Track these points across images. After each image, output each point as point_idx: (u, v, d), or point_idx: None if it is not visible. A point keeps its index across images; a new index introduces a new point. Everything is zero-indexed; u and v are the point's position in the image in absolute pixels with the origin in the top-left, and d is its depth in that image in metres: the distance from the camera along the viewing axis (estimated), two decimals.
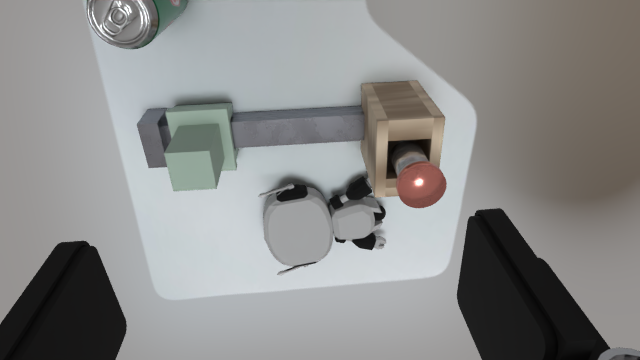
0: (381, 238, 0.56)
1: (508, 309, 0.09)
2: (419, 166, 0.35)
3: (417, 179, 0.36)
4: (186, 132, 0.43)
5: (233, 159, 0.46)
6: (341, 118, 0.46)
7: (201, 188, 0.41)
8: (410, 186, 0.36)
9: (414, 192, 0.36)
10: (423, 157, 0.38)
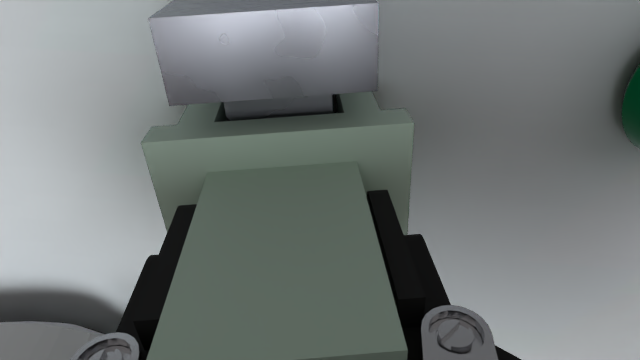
0: None
1: None
2: None
3: None
4: None
5: None
6: None
7: None
8: None
9: None
10: None
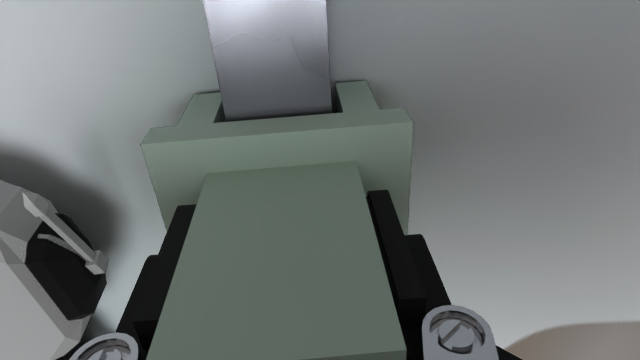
0: None
1: None
2: None
3: None
4: None
5: None
6: None
7: None
8: None
9: None
10: None
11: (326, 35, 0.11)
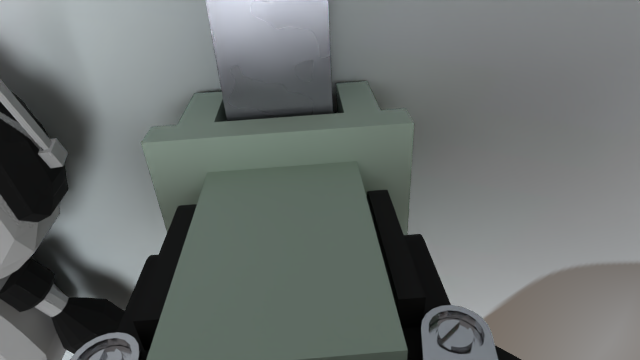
0: None
1: None
2: None
3: None
4: None
5: None
6: None
7: None
8: None
9: None
10: None
11: None
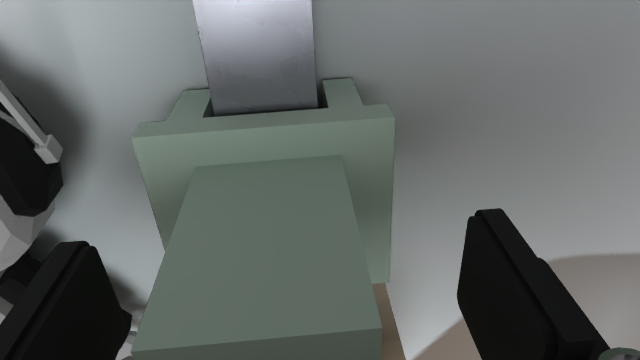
0: None
1: (508, 309, 0.09)
2: None
3: None
4: None
5: None
6: None
7: None
8: None
9: None
10: None
11: None
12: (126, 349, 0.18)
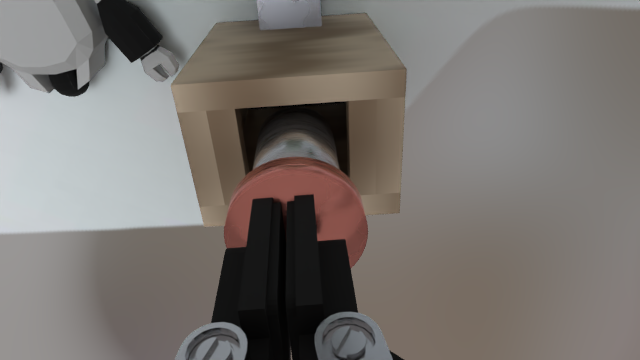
0: None
1: None
2: None
3: (326, 220, 0.12)
4: None
5: None
6: None
7: None
8: None
9: None
10: None
11: None
12: (157, 57, 0.22)
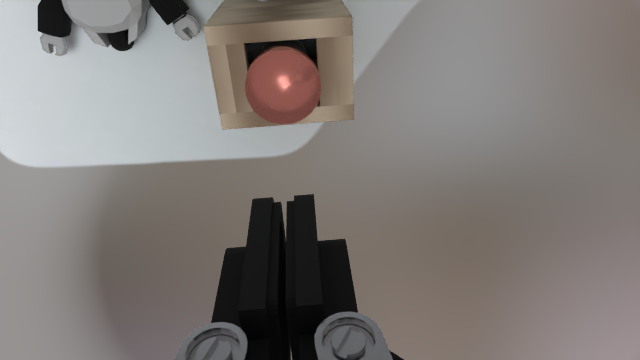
0: (66, 47, 0.31)
1: None
2: None
3: (298, 79, 0.23)
4: None
5: None
6: None
7: None
8: (285, 70, 0.23)
9: (274, 79, 0.23)
10: None
11: None
12: (185, 22, 0.31)
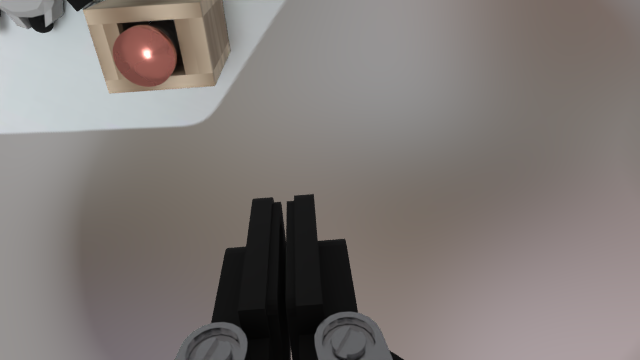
0: None
1: None
2: (171, 50, 0.30)
3: (154, 50, 0.30)
4: None
5: None
6: None
7: None
8: (143, 43, 0.29)
9: (135, 50, 0.30)
10: None
11: None
12: None
